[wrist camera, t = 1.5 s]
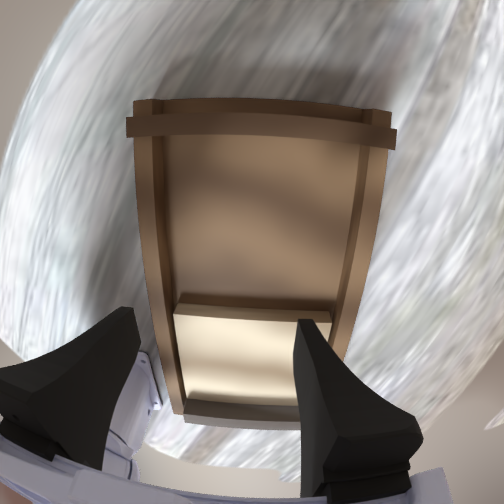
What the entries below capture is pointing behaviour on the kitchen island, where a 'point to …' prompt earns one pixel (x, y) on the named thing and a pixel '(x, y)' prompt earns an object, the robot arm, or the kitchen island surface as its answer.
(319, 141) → the walnut track
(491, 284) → the kitchen island surface
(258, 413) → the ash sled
